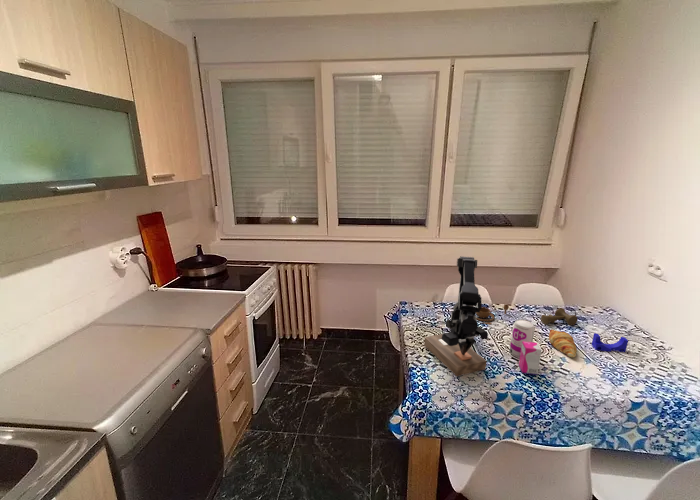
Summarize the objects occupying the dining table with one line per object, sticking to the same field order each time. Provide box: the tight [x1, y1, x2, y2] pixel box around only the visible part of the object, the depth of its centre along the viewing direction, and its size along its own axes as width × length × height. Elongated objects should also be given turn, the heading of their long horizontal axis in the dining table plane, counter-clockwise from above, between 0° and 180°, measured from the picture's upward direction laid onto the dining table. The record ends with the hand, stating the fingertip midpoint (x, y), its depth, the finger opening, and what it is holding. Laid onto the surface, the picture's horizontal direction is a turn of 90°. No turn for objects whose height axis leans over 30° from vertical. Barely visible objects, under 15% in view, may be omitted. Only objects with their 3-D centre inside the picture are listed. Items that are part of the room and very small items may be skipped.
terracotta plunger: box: [454, 351, 472, 361], centre depth 137 cm, size 5×5×4 cm
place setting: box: [475, 303, 510, 325], centre depth 179 cm, size 18×20×6 cm
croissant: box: [548, 329, 578, 358], centre depth 152 cm, size 21×10×8 cm, turn 173°
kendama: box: [540, 307, 578, 326], centre depth 175 cm, size 6×10×20 cm
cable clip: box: [591, 332, 629, 353], centre depth 150 cm, size 12×4×6 cm, turn 73°
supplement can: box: [509, 319, 536, 359], centre depth 144 cm, size 8×8×15 cm
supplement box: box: [518, 341, 542, 376], centre depth 133 cm, size 6×6×12 cm
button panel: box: [423, 333, 487, 377], centre depth 143 cm, size 14×24×4 cm, turn 20°
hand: (462, 354), depth 137 cm, fingers closed, pressing on terracotta plunger
